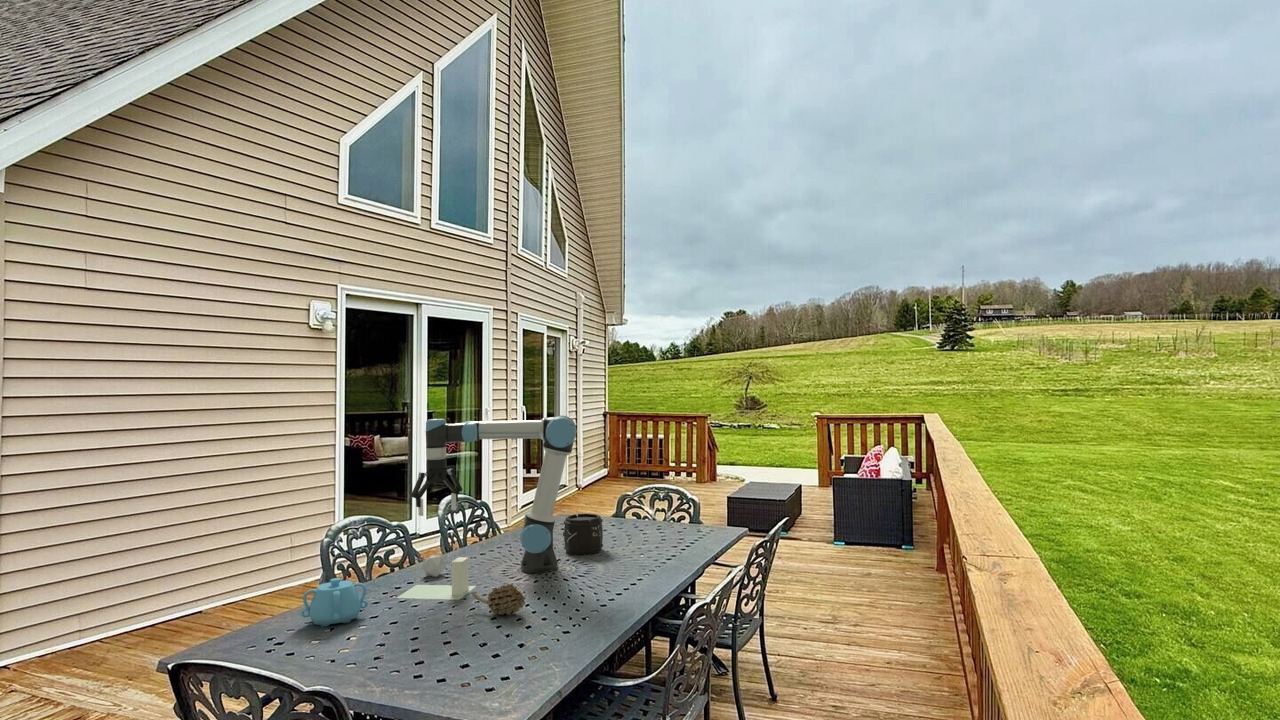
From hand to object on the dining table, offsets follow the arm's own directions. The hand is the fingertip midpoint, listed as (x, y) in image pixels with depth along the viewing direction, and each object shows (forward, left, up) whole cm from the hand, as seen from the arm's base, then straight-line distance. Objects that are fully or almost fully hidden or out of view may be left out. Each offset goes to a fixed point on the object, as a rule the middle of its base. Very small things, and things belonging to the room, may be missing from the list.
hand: (437, 512), depth 260 cm
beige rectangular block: (-14, +13, -27) cm, 33 cm away
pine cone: (-35, +33, -27) cm, 55 cm away
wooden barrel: (-46, -50, -27) cm, 74 cm away
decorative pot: (+16, +44, -27) cm, 54 cm away
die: (+6, -8, -27) cm, 29 cm away
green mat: (-5, +13, -27) cm, 30 cm away
